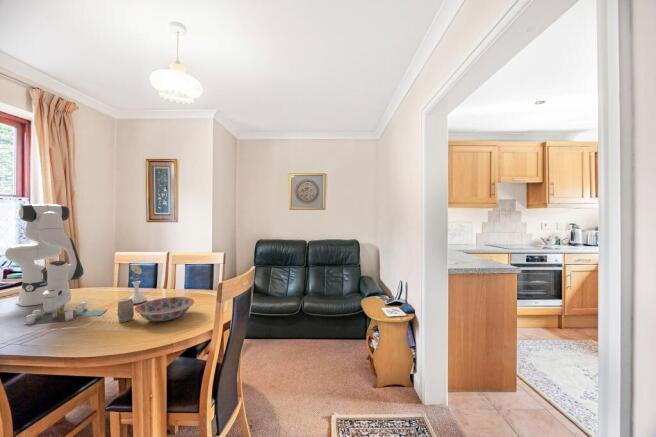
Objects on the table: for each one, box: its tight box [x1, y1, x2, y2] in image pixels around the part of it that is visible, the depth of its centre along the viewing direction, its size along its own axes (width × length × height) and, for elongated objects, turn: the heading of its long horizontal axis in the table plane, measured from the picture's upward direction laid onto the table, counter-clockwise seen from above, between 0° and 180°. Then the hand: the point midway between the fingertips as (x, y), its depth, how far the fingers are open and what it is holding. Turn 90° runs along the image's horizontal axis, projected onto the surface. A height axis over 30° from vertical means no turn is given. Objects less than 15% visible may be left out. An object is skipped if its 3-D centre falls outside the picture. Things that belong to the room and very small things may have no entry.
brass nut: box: [53, 307, 65, 318], centre depth 158 cm, size 5×5×4 cm
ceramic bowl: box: [134, 296, 195, 322], centre depth 158 cm, size 29×29×8 cm
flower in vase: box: [128, 264, 147, 305], centre depth 185 cm, size 13×11×25 cm
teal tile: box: [78, 309, 108, 318], centre depth 163 cm, size 10×10×1 cm
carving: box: [116, 297, 135, 323], centre depth 154 cm, size 6×8×12 cm
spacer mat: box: [23, 301, 89, 327], centre depth 158 cm, size 20×22×5 cm
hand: (58, 314), depth 158 cm, fingers open, 5 cm apart
